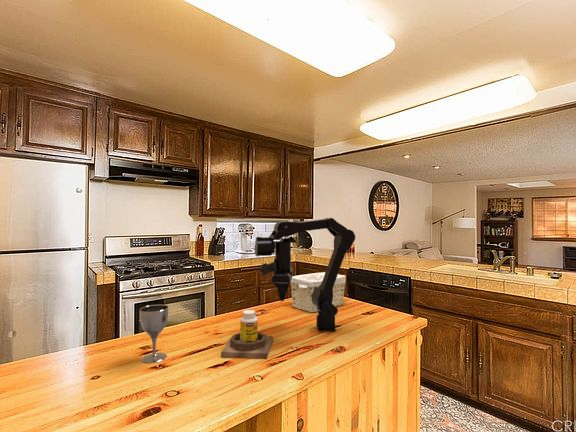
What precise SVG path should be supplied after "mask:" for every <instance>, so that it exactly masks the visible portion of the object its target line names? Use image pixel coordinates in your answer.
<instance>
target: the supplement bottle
mask: <svg viewBox="0 0 576 432" xmlns="http://www.w3.org/2000/svg"><path fill="white" fill-rule="evenodd" d="M239 320H240V330H239V333H240V343H253V342H256V341H257V331H258V328H259V327H258V321H259V319H258V317H257V316H256V311H255V310H252V309H251V310H250V309H246V310H243V312H242V317H240V319H239ZM258 332H259V331H258Z"/></svg>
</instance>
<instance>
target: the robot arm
mask: <svg viewBox="0 0 576 432" xmlns="http://www.w3.org/2000/svg"><path fill="white" fill-rule="evenodd" d="M324 229H326V230H327V231H328V232H329V233H330V235H332V236H333V250H332V253H331V255H330V259H329V262H328V264H327V267H326V270H325V271H324V272H325V275H324V278H323V281H322V283H321V285H320V286H319V287H316V286H315V287H314V290H313V293H312V295H311V296H312V303H313V305H314V306H316V309H317V310H319V311H317V315H316V328H317V331H318V332H336V316H337V315H338V312H339V309H338V308H337V306H336V307H335V306H334V305H333V304H332V301H333V287H334V284H335V281H336V278H337V275H338V274H339V272H340V269H341V267H342V263H343V262H344V259H345V257H346V256H345V255H346V254H347V252H348V251H349V250H350V249H351V248H352V246H353V244H354V242H355V240H356V234H355V232H354V230H351V229H348V228H347V227H345V226H344V225H343V224H341V223H340V222H338V221H337V220H335V219H334V217H325V218H321V219H313V220H303V221H292V220H291V221H287V220H280V221H277V222H276V223H275V224H274V226H273V231H272V232H271V233H270V235H269V236H268V237H267V236H266V237H263V236H256V237H255V243H254V246H253V247H254V255H255V256H256V257H261V256H262V257H264V256H265V257H267V256H272V255H273V254H274V255H275V257H274V259H273V261H271V262H269V263H267V262H265V263H262V264H261V266H260V267H259V272H260V273H261V276H266V275H267V274H270V273H272V272H273V274H272V276H271V283H272V284H273V285H274V286H276V288H277V292H278V296H279V301H281V302H284V301H285V298H286V295H287V292H288V289H289V288H290V287H289V286H290V285H291V279H292V276H293V275H294V269H293V268H292V252H291V251H292V248H291V247H292V243H293V244H296V243H297V240H296V239H295V238H294V237H293V235H296V234H299V233H302V232H307V231H316V230H324Z"/></svg>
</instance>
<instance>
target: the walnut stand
mask: <svg viewBox="0 0 576 432" xmlns="http://www.w3.org/2000/svg"><path fill="white" fill-rule="evenodd" d="M273 339H274V336H273V335H266V334H265V333H263V332H261V331H257V341H256V342H253V343H240V332H237V333H234V334H233V335H232V336H231V337H230V338H229V340H228V341H227V343H226V344H225V346H224V347H223V349H222V350H221V351H220V357H221V358H238V359H240V358H243V359H268V356H269V353H270V349H271V348H272V344H273V341H274V340H273Z"/></svg>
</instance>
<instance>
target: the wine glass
mask: <svg viewBox="0 0 576 432" xmlns="http://www.w3.org/2000/svg"><path fill="white" fill-rule="evenodd" d="M168 318H169V305H167V304H161V303H160V304H159V303H158V304H151V305H146V306H142V307H141V308H139V320H140V325H141V328H142V330H143V331H144V332H145V333H146V334H147V335H148V336H149V338H150V339H151V343H152V353H149V354H146V355H144V356H142V357H141V359H140V361H141V362H142V363H144V364H156V363H159V362H162V361H164V360H165V359H166V358H168V355H167V354H166V353H164V352H156V351H157V350H156V349H157V348H156V347H157V339H158V336H159V335H160V334H161V333H162V331H164V329H165V327H166V326H167V323H168Z"/></svg>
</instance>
